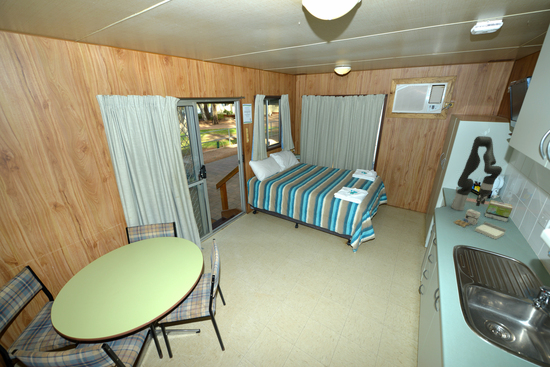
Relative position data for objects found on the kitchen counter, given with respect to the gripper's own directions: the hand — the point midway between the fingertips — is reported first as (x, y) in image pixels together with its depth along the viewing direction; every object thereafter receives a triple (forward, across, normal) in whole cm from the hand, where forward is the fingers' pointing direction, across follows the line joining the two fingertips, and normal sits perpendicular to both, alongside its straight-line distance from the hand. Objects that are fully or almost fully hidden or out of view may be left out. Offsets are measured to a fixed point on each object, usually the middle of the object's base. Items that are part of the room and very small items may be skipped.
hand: (479, 204), depth 191 cm
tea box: (+19, -30, +5) cm, 36 cm away
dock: (+19, +7, +14) cm, 24 cm away
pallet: (+19, +12, -4) cm, 22 cm away
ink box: (+19, +2, -2) cm, 19 cm away
